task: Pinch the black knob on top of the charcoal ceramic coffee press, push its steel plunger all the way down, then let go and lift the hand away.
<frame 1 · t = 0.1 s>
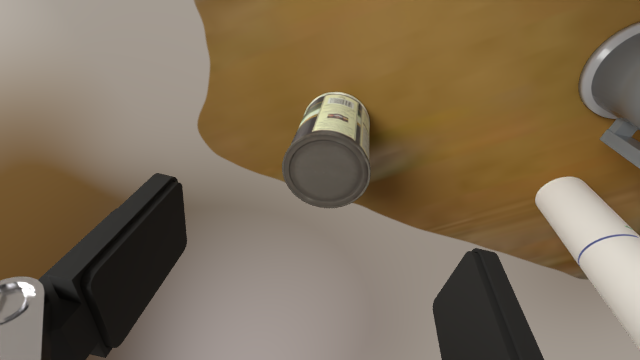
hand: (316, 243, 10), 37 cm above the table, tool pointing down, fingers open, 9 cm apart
cylindrical container: (560, 195, 49), on the table
press housing: (634, 70, 38), on the table
coffee can: (336, 124, 48), on the table
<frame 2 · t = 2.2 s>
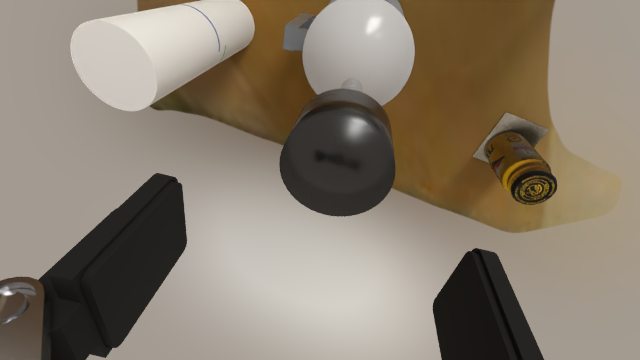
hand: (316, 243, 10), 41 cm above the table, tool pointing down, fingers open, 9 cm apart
cylindrical container: (231, 24, 46), on the table
press housing: (362, 31, 44), on the table
condiment: (508, 142, 50), on the table
plunger: (345, 120, 18), point 31 cm above the table, slide at 9.0 cm
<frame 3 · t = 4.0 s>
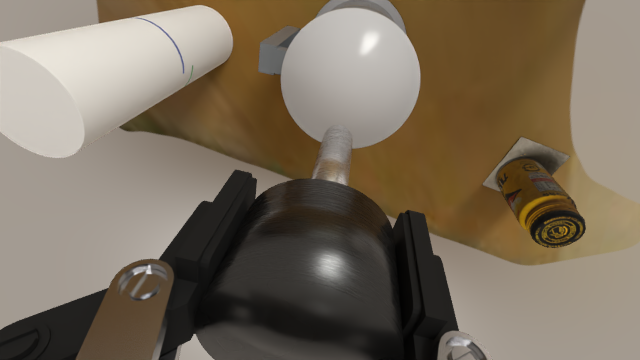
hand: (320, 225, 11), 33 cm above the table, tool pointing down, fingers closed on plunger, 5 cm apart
cylindrical container: (206, 36, 40), on the table
press housing: (356, 46, 38), on the table
condiment: (522, 169, 44), on the table
plunger: (325, 203, 12), point 31 cm above the table, slide at 9.0 cm, touching gripper
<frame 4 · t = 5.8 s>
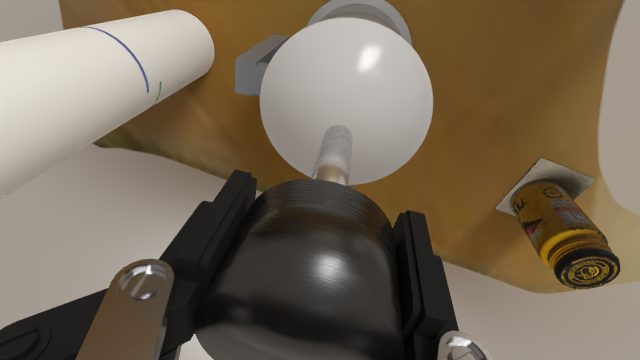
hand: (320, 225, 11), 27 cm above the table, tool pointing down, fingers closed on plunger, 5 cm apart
cylindrical container: (184, 45, 35), on the table
press housing: (354, 56, 33), on the table
condiment: (541, 193, 39), on the table
plunger: (325, 203, 12), point 26 cm above the table, slide at 3.3 cm, touching gripper
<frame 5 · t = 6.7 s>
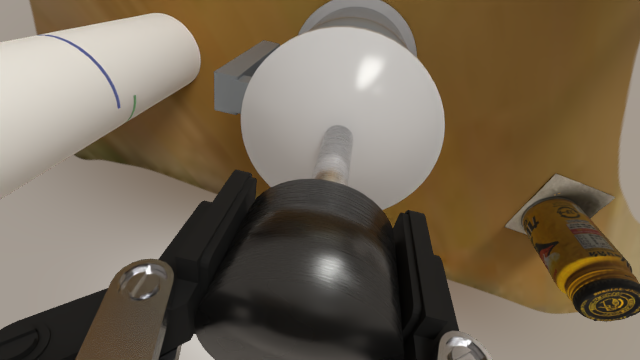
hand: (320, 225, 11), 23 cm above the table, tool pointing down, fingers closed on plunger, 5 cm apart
cylindrical container: (168, 51, 32), on the table
press housing: (353, 64, 30), on the table
condiment: (554, 210, 36), on the table
plunger: (325, 203, 12), point 22 cm above the table, slide at -0.2 cm, touching gripper, press housing
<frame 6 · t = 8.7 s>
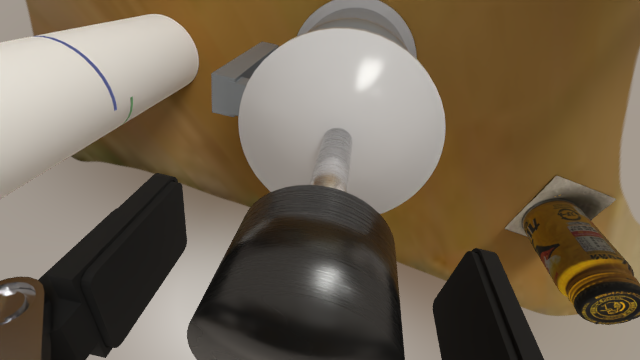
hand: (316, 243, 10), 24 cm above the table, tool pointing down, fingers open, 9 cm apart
cylindrical container: (166, 52, 32), on the table
press housing: (352, 65, 30), on the table
condiment: (555, 212, 36), on the table
plunger: (323, 208, 12), point 22 cm above the table, slide at -0.2 cm
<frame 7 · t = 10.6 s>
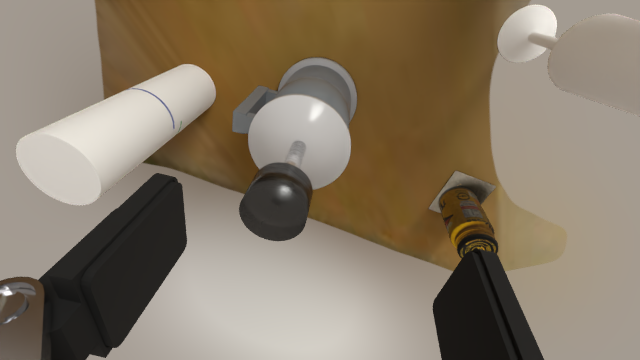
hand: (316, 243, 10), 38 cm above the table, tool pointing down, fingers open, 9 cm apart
cylindrical container: (193, 88, 48), on the table
press housing: (317, 98, 46), on the table
condiment: (460, 196, 53), on the table
champagne flute: (525, 34, 39), on the table
plunger: (287, 175, 28), point 22 cm above the table, slide at -0.2 cm
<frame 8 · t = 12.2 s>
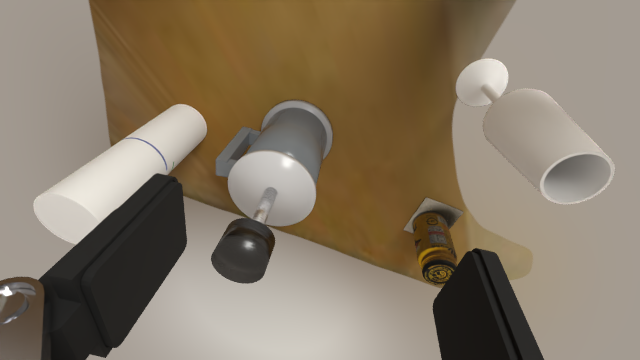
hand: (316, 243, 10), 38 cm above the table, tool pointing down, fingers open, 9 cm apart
cylindrical container: (187, 123, 53), on the table
press housing: (297, 134, 51), on the table
condiment: (431, 219, 57), on the table
champagne flute: (481, 83, 43), on the table
plunger: (256, 223, 33), point 22 cm above the table, slide at -0.2 cm
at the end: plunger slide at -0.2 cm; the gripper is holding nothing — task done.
